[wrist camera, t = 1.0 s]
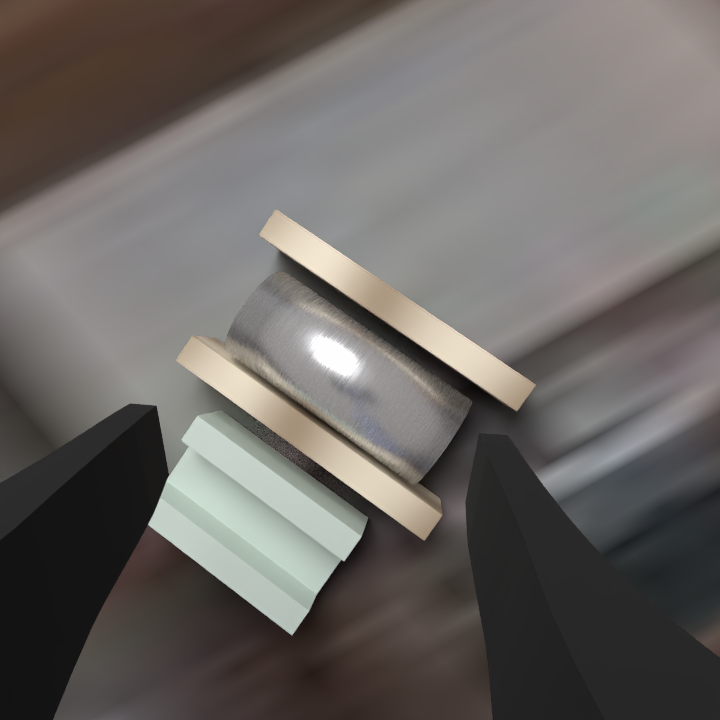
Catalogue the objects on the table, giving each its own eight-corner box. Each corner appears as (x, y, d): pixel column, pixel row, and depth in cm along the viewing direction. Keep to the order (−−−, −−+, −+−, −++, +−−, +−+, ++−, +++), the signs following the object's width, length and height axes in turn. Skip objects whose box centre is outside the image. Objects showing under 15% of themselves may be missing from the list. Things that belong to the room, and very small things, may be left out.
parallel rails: (523, 382, 22) (536, 384, 20) (424, 521, 23) (424, 540, 20) (291, 225, 24) (275, 209, 21) (201, 360, 24) (175, 360, 21)
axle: (470, 393, 23) (473, 410, 19) (417, 467, 23) (408, 499, 19) (298, 274, 23) (266, 267, 19) (251, 349, 24) (210, 357, 20)
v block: (368, 517, 23) (361, 536, 21) (305, 606, 23) (291, 635, 21) (221, 410, 24) (197, 416, 21) (162, 497, 24) (132, 512, 22)
